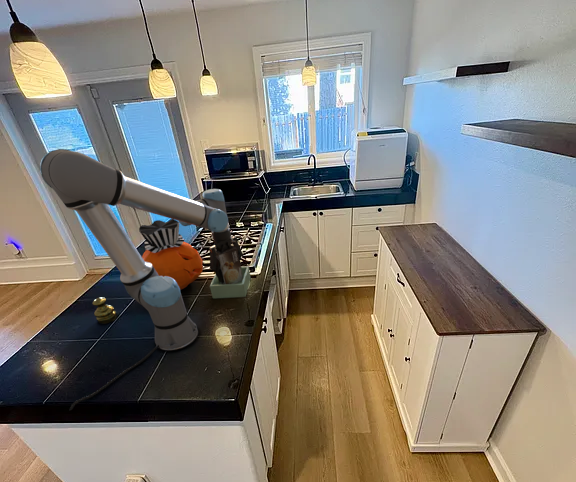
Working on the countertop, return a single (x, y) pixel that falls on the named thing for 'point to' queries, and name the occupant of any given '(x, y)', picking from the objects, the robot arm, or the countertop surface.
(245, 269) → the tote
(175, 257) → the jack-o'-lantern
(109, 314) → the brass knobbed piece
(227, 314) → the countertop surface
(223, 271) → the coffee box
